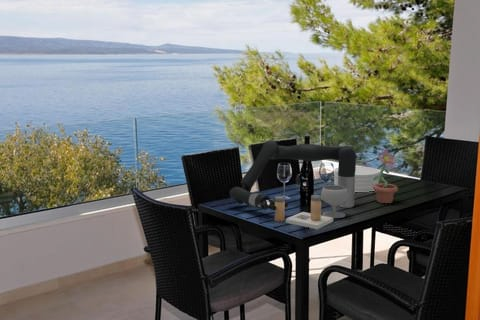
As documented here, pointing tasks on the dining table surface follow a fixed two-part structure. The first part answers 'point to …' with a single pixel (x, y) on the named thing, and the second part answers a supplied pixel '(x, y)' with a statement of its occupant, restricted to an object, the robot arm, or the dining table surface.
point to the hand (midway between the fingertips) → (281, 206)
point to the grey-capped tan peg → (280, 208)
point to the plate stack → (362, 178)
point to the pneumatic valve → (299, 179)
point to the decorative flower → (384, 189)
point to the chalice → (334, 199)
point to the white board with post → (311, 216)
